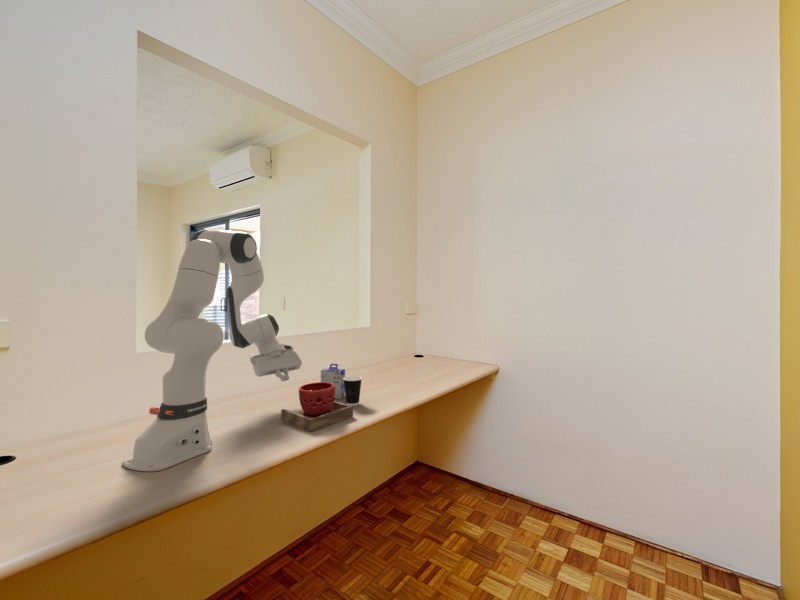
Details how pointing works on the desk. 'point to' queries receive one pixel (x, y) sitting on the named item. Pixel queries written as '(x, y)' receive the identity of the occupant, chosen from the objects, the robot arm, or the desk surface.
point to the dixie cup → (352, 389)
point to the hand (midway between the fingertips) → (285, 379)
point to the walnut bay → (319, 422)
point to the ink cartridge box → (334, 379)
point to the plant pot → (317, 398)
